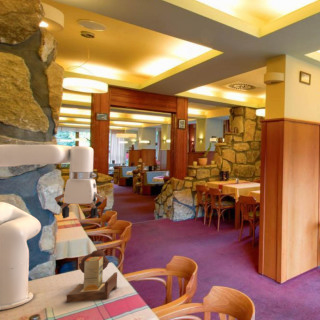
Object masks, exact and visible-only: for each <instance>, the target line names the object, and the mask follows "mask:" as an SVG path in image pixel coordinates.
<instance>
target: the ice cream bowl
mask: <svg viewBox="0 0 320 320" xmlns="http://www.w3.org/2000/svg"><path fill="white" fill-rule="evenodd" d="M100 256H103V271H104V270H105V269H107V267H108V265H109V262H110V260H109V259H108V258H107V256H106V253H105V251H104V250H102V249H96V250H93V251H92V252H91V253H88V254H86V255H84V256H83V258H81V261H80V263H78V267H79V269H80V271H81V272H82V273H83V274H84V264H85V261H86V260H87V259H88V258H89V257H100Z"/></svg>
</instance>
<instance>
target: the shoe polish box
mask: <svg viewBox="0 0 320 320" xmlns="http://www.w3.org/2000/svg"><path fill="white" fill-rule="evenodd" d="M103 272H104V270H103V256H100V257H89V258H88V259H87V260H86V261H85V264H84V273H83V284H84V291H87V290H97V289H99V288H100V286H101V285H102V282H103Z"/></svg>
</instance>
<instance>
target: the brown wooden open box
mask: <svg viewBox="0 0 320 320" xmlns="http://www.w3.org/2000/svg"><path fill="white" fill-rule="evenodd" d="M116 289H118V272H117V271H116V272H114V273H113V274H112V275H111V276H110V277H108V278H107V279H106V280H105V281H102V285H101V286H100V288H99V289H97V290H87V291H84V283H79V284H77V285H76V286H75V287H74V288H72V290H71V291H69V292H68V293H67V294H66V295H65V296H66V299H65V300H66V301H65V303H75V302H88V301H89V302H90V301H99V300H101V301H102V300H108V299H109V297H110V292H111V291H115V290H116Z"/></svg>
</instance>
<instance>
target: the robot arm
mask: <svg viewBox="0 0 320 320" xmlns="http://www.w3.org/2000/svg"><path fill="white" fill-rule="evenodd" d="M94 153H95V151H94V148H92V147H91V146H82V145H81V146H80V145H78V146H76V145H75V146H73V145H72V146H70V145H65V144H50V143H49V144H45V143H44V144H15V143H13V144H11V143H10V144H9V143H8V144H0V168H5V167H18V166H29V165H31V166H32V165H33V166H34V165H55V164H56V165H57V164H69V176H68V177H69V179H67V180H66V184H65V187H64V192H63V193H62V194H60V195H57V196H55V197H54V200H55V202H56V205H58V206H59V207H60V209H61V216H62V219H67V218H69V217H70V207H69V206H70V205H90V207H91V208H90V218H91V219H94V218H96V217H97V215H98V208H99V207H100V206H101V205H102V204H103V202H105V200H106V197H105V196H104V195H101V194H99V193H98V190H97V189H98V187H97V183H96V179H94V178H97V176H98V175H97V173H95V172H94ZM62 199H63V201H62ZM98 199H99V200H98ZM97 200H98V201H97ZM41 230H42V224H41V222H40V220H38V219H37V218H36V217H35V216H34V215H31V214H30V213H29V212H26V211H24V210H22V209H21V208H18V207H16V206H15V205H13V204H11V203H8V202H3V201H0V311H3V310H8V309H13V308H17V307H19V306H22V305H24V304H27V303H29V302H30V301H32V299H33V298H34V293H33V292H30V291H29V275H30V274H29V268H30V250H29V246H28V242H27V241H29V240H30V239H32V238H34V237H36V236H37V235H38V234H39V233H40V231H41Z"/></svg>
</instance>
